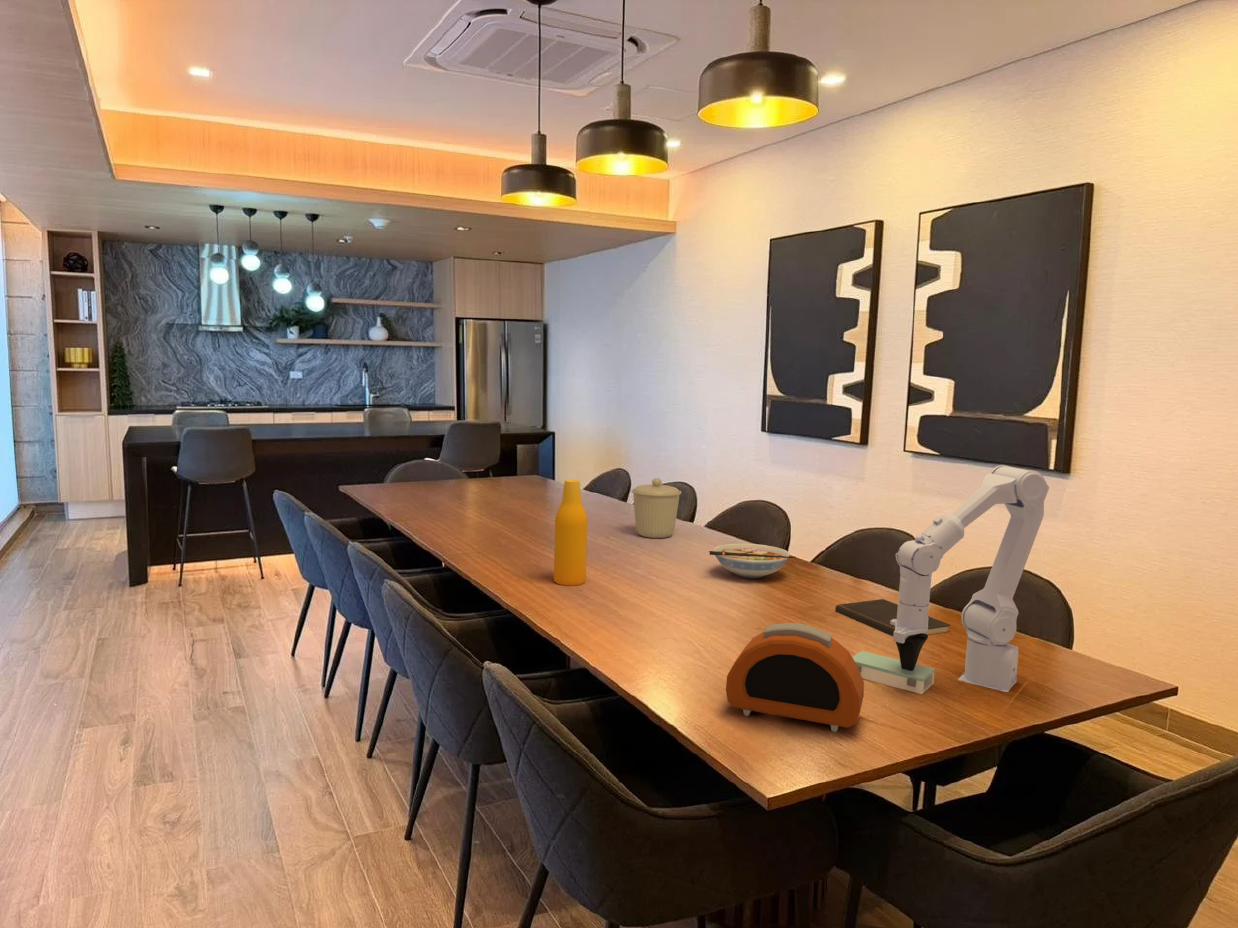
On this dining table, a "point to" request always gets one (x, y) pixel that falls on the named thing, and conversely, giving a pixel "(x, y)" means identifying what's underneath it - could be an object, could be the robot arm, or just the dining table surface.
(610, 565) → the dining table surface
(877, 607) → the hardcover book
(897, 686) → the cream piece
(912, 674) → the panel
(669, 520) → the canister
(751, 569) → the ramen bowl
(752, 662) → the alarm clock
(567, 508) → the beer bottle
